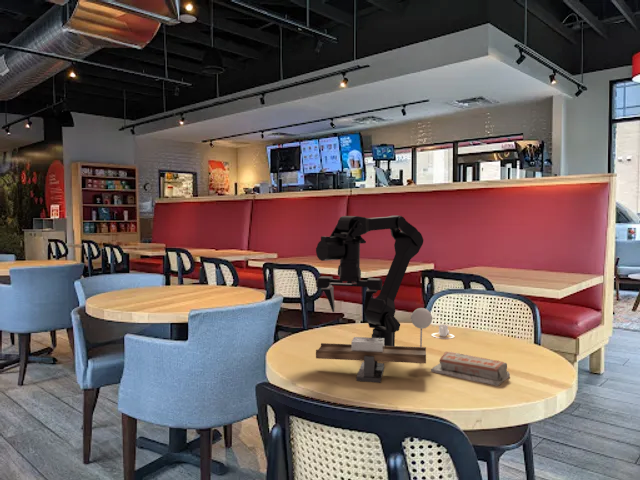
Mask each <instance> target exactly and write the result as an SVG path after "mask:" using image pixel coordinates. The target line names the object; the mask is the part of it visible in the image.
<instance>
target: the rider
mask: <svg viewBox="0 0 640 480" xmlns="http://www.w3.org/2000/svg"><path fill="white" fill-rule="evenodd" d="M351 347H352V351H361V352H384V338H372V337H367V336H366V337H364V336H363V337H362V336H360V337H359V336H354V337H353V338H352V340H351Z"/></svg>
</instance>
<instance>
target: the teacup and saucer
mask: <svg viewBox="0 0 640 480" xmlns="http://www.w3.org/2000/svg"><path fill="white" fill-rule="evenodd" d="M436 335H439V336H436ZM430 336H431V337H434V338H437V339H441V338H442V339H443V340H444V339H445V340H446V339H447V340H448V339H453V338H455V335H454V334H452V333H450V330H449V325H447V324H443V323H441V324H438V332H433V333H431V335H430ZM447 336H449V337H447Z"/></svg>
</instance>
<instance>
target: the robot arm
mask: <svg viewBox="0 0 640 480" xmlns="http://www.w3.org/2000/svg"><path fill="white" fill-rule="evenodd" d="M380 230H382V231H383V230H390V235H391V237H392V239H394V244H393V245H394V246H393V248H394V252H395V254H394V257H393V260H392V262H391V265H390V267H389V270H388V272H387V275H386V277H385V279H384V282H383V280H382V279H381V278H379V277H377V278H375V277H369V278H367V280H363V279H362V270H361V268H360V267H361V266H360V264H361V263H360V261H361V259H360V258H361V257H360V256H361V244H366V243H367V242H366V241H367V240H365V239H364V238H363V237H362V235H365V234H367V233H369V232H371V231H380ZM423 244H424V237H423V235H422V233H421V232H420V231H419V230H418V229H417V228H416V227H415V226H414V225H412V224H411V223H409V222H408V220H406V218H405V217H404V216H403V215H389V216H379V217H364V216H358V215H355V216H354V215H343V216H340V217H339V219H338V220H337V224H336V225H335V227H334V228H333V230H332V232H331V234H330V235H329V236H326V235H323V236H320V240H319V241H318V243H317V246H316V247H315V253H316V256H317V259H318V260H320V261H321V262H323V261H324V262H327V261H339V265H337V266H338V267H337V276H338V277H339V279H334V278H333V276H327V275H321V276H319V277H318V278H317V279H316V283H315V287H316V289H320V291H321V292H323V293H324V295H325V296H326V298H327V300H328V303H329V306H330V309H331V311H332V313H334V312H335V311H336V310H335V309H336V308H335V307H336V305H335V296H334V293H335V292H334V291H335V290H334V289H335V287H334V286H336V287H337V286H338V287H359V288H361V287H362V288H366V291H365V296H364V297H365V298H364V305H363V314H364V315H365V316H364V317H366V321H367V324H368V327H369V328H370V329H371V328H372V334H371V338H384V346H396V344H395V342H396V340H395V339H396V332H399V330H400V327H401V323H400V322H399V321H398V319H396V317H395V315H396V305H395V300H396V297H397V294H398V292H399V289H400V287H401V285H402V282H403V279H404V277H405V274H406V271H407V270H408V266H409V265H410V261H411V259H413V258H414V257H415V256H416V255H417V254H418V253H419V252H420V251H421V248H422V247H423ZM361 279H362V280H361ZM378 291H379V293H378V295H377V296H376V297H372V296H373V295H374V294H377V292H378Z"/></svg>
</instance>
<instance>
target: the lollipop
mask: <svg viewBox="0 0 640 480" xmlns="http://www.w3.org/2000/svg"><path fill="white" fill-rule="evenodd" d="M410 320H411V323H412V325H413V326H414V327H416V328H417V329H420V331H419V332H420V335H419V337H420V338H419V340H420V341H419V347H423V345H422V343H423V329H426V328H428V327H430V325H431V324H432V321H433V315H432V313H431V312H430V310H428V309H427V308H424V307H418V308H416V309H415V310H414V311H412V313H411V315H410Z"/></svg>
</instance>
